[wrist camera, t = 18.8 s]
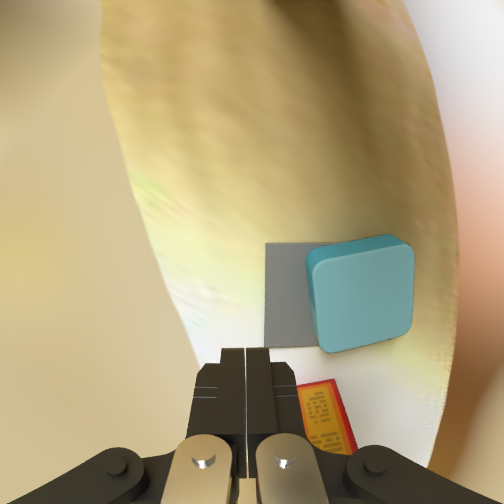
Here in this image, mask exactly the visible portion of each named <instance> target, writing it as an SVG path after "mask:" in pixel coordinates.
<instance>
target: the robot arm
mask: <svg viewBox="0 0 504 504" xmlns="http://www.w3.org/2000/svg"><path fill="white" fill-rule="evenodd" d="M246 403H247V448H248V468H249V478H256V497H257V504H502V503H500V502H497V501H495V500H492V499H490V498H488V497H485V496H483V495H481V494H478V493H476V492H474V491H472V490H470V489H467V488H465V487H463V486H461V485H459V484H457V483H455V482H452V481H450V480H448V479H446V478H444V477H442V476H440V475H438V474H436V473H434V472H432V471H430V470H428V469H426V468H425V467H423V466H421V465H419V464H417V463H415V462H413V461H411V460H410V459H408V458H406V457H404V456H402V455H400V454H399V453H397V452H395V451H393V450H391V449H389V448H387V447H384V446H380V445H369V446H364V447H362V448H360V449H358V450H356V451H355V452H354V453H353V454H352V455H345V454H337V453H330V452H326V451H323V450H321V449H319V448H317V447H316V446H314V445H313V444H312V443H311V442H310V441H309V439H308V438H307V436H306V432H305V427H304V422H303V417H302V411H301V406H300V401H299V396H298V390H297V386H296V380H295V375H294V371H293V370H292V369H291V368H290V367H289V366H288V364H287V363H286V362H270V356H269V348H268V347H259V348H246V379H245V353H244V348H222V350H221V359H220V364H217V363H206V364H205V365H204V366H203V367H202V369H201V370H200V371H199V372H198V374H197V378H196V384H195V389H194V395H193V400H192V406H191V412H190V418H189V423H188V429H187V435H186V438H185V440H184V441H183V442H181V443H180V444H179V445H178V447H177V449H176V450H174V451H173V452H170V453H168V454H165V455H160V456H154V457H147V458H140V457H139V456H138V455H137V454H136V453H135V452H133V451H131V450H129V449H126V448H120V447H118V448H109V449H106V450H104V451H102V452H101V453H99V454H97V455H96V456H94V457H92V458H91V459H89V460H87V461H85V462H84V463H82V464H80V465H79V466H77V467H75V468H74V469H72V470H70V471H68V472H67V473H65V474H63V475H61V476H59V477H58V478H56V479H54V480H52V481H50V482H48V483H47V484H45V485H43V486H41V487H39V488H38V489H35V490H33V491H32V492H30V493H28V494H26V495H24V496H22V497H20V498H18V499H16V500H14V501H12V502H10V503H7V504H238V497H239V478H247V458H246Z"/></svg>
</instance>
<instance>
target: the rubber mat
mask: <svg viewBox="0 0 504 504" xmlns="http://www.w3.org/2000/svg"><path fill="white" fill-rule="evenodd" d="M333 244H338V243H266V262H265V323H264V347H268V348H275V347H302V346H319V343H318V340H317V337H316V334H315V331H314V329H313V322H312V313H311V304H310V296H309V288H308V280H307V272H306V264H305V260H306V256H307V255H308V253H309V252H310V251H311V250H312V249H314V248H317V247H322V246H328V245H333ZM406 244H407V245H410V244H409V243H406ZM388 340H390V339H388Z"/></svg>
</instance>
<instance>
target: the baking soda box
mask: <svg viewBox="0 0 504 504" xmlns="http://www.w3.org/2000/svg"><path fill="white" fill-rule="evenodd" d="M296 386H297V390H298V396H299V401H300V406H301V411H302V417H303V422H304V427H305V432H306V436H307V438H308V439H309V441H310V442H311V443H312V444H313V445H314V446H316V447H317V448H319V449H321V450H323V451H326V452H330V453H337V454H345V455H352V454H353V453H354V452H355V451H356V450H358V447H357V444H356V441H355V438H354V435H353V432H352V429H351V426H350V423H349V420H348V417H347V414H346V411H345V408H344V405H343V402H342V399H341V396H340V394H339V391H338V388H337V385H336V382H335V379H329V380H324V381H319V382H314V383H308V384H302V385H296Z"/></svg>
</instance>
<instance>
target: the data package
mask: <svg viewBox="0 0 504 504" xmlns="http://www.w3.org/2000/svg"><path fill="white" fill-rule="evenodd" d="M305 264H306V272H307V280H308V288H309V296H310V304H311V313H312V322H313V329H314V331H315V334H316V337H317V340H318V343H319V346H320V348H321V349H322V350H323V351H324V352H327V353H335V352H340V351H344V350H348V349H353V348H357V347H361V346H365V345H369V344H373V343H376V342H380V341H384V340H388V339H391V338H395V337H399V336H401V335H403V334H405V333H406V332H407V331H408V330H409V329H410V327H411V324H412V313H413V296H414V252H413V249H412V248H411V247H410V246H409V245H407V244H406V243H404V242H403V241H401V240H400V239H398V238H397V237H395V236H393V235H390V234H387V235H381V236H376V237H371V238H365V239H360V240H355V241H349V242H344V243H338V244H333V245H328V246H322V247H317V248H314V249H312V250H311V251H310V252H309V253H308V255H307V256H306V260H305Z"/></svg>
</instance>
